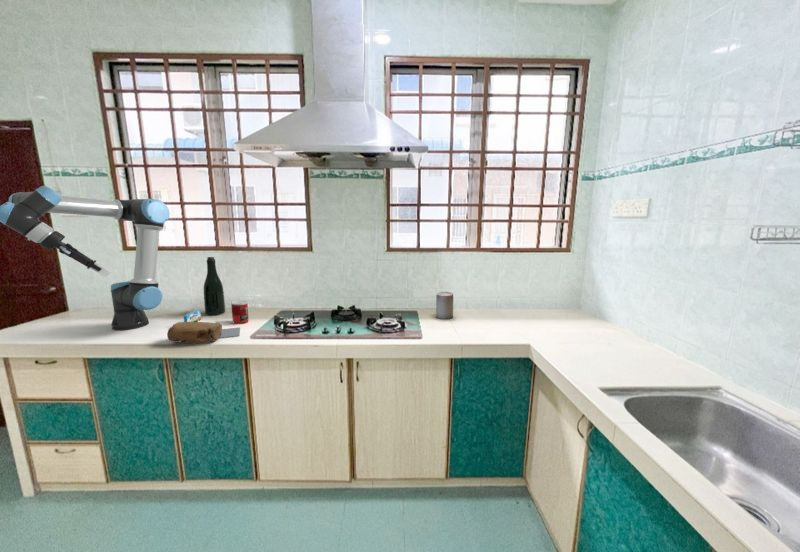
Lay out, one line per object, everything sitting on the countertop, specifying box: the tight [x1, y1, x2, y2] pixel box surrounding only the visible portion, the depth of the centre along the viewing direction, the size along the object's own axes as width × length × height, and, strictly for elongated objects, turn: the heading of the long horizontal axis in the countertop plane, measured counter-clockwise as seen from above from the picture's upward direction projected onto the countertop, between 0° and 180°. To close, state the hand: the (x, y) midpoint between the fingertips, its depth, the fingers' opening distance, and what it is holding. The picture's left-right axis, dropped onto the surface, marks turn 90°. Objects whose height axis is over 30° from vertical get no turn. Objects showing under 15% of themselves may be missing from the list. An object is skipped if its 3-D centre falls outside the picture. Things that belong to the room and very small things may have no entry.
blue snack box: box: [183, 309, 202, 322], centre depth 181 cm, size 12×2×6 cm, turn 0°
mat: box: [179, 326, 241, 344], centre depth 165 cm, size 13×24×1 cm, turn 113°
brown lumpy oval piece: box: [167, 321, 223, 344], centre depth 156 cm, size 11×8×20 cm
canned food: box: [231, 300, 250, 325], centre depth 184 cm, size 8×8×11 cm
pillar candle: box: [435, 291, 454, 320], centre depth 197 cm, size 10×10×15 cm
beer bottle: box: [203, 256, 226, 317], centre depth 198 cm, size 10×10×33 cm
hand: (108, 274), depth 147 cm, fingers closed
